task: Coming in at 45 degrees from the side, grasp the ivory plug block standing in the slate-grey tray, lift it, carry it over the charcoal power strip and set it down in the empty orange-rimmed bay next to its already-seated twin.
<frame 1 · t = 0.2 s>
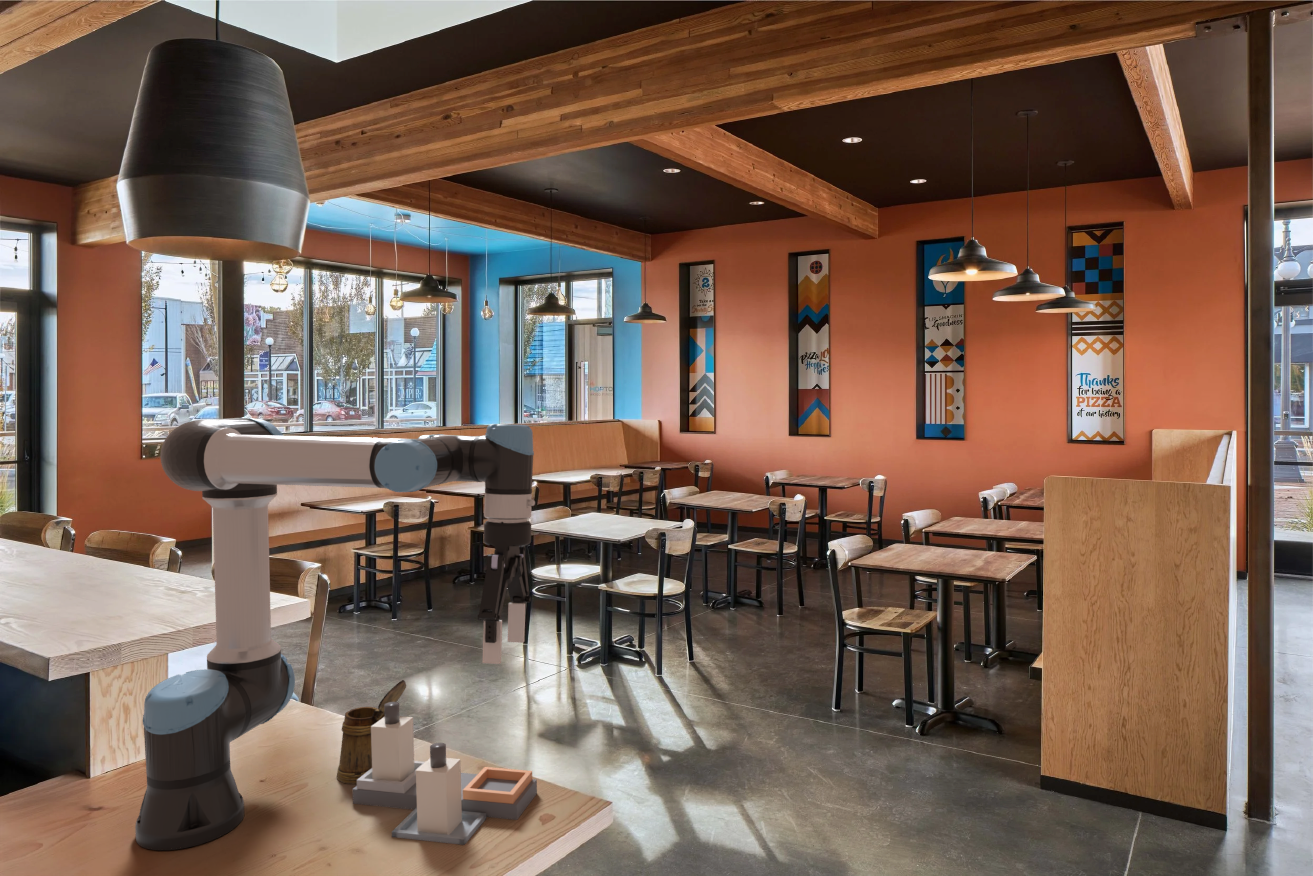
hand: (504, 652, 134), 27 cm above the table, tool pointing down, fingers open, 13 cm apart
twin plug: (393, 779, 141), resting on pdu strip
tray: (440, 831, 130), on the table
wooden mug: (374, 776, 150), on the table
pdu strip: (445, 801, 140), on the table
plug: (440, 827, 130), point 1 cm above the table, touching tray
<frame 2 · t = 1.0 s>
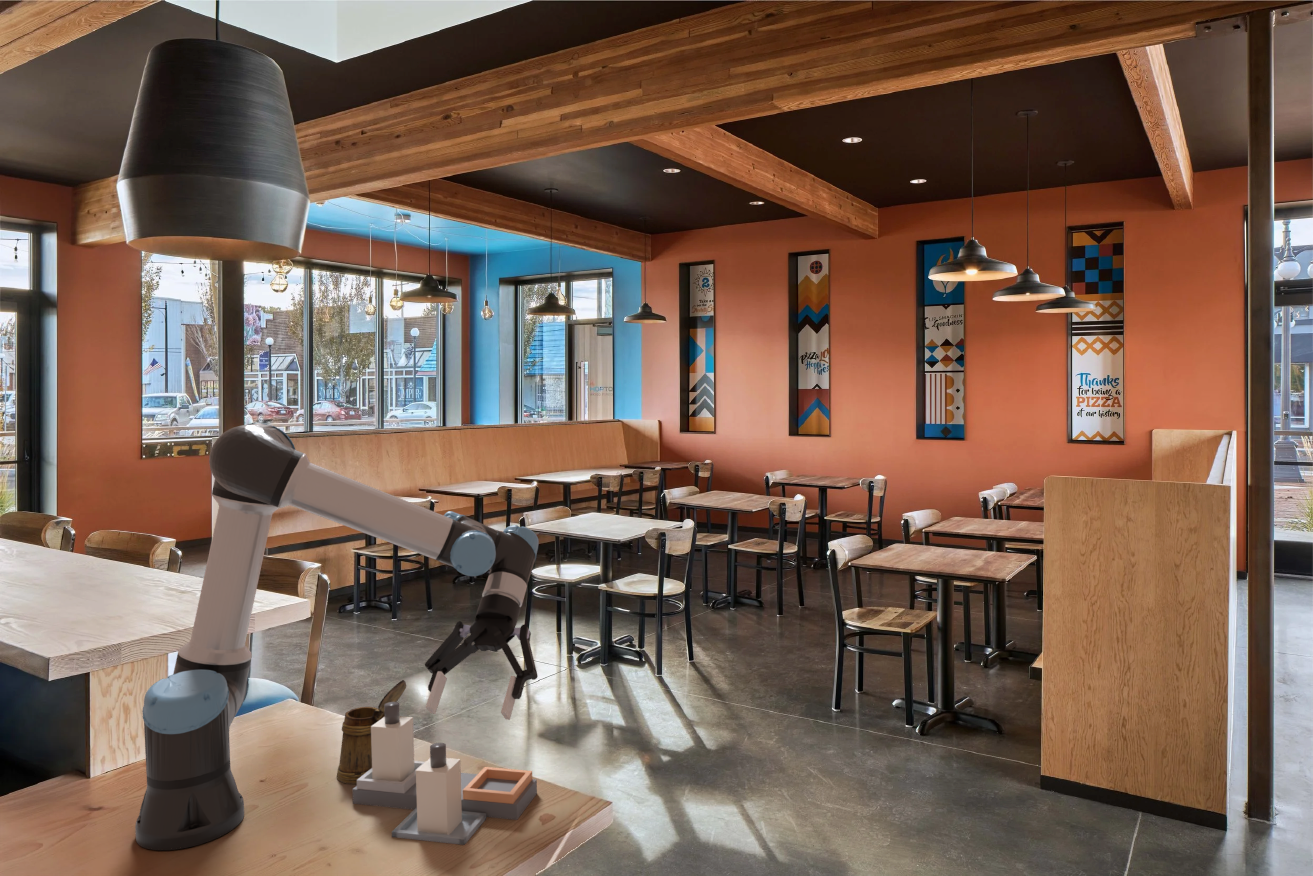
hand: (467, 713, 139), 15 cm above the table, tool tilted 45°, fingers open, 13 cm apart
nothing on the table moved.
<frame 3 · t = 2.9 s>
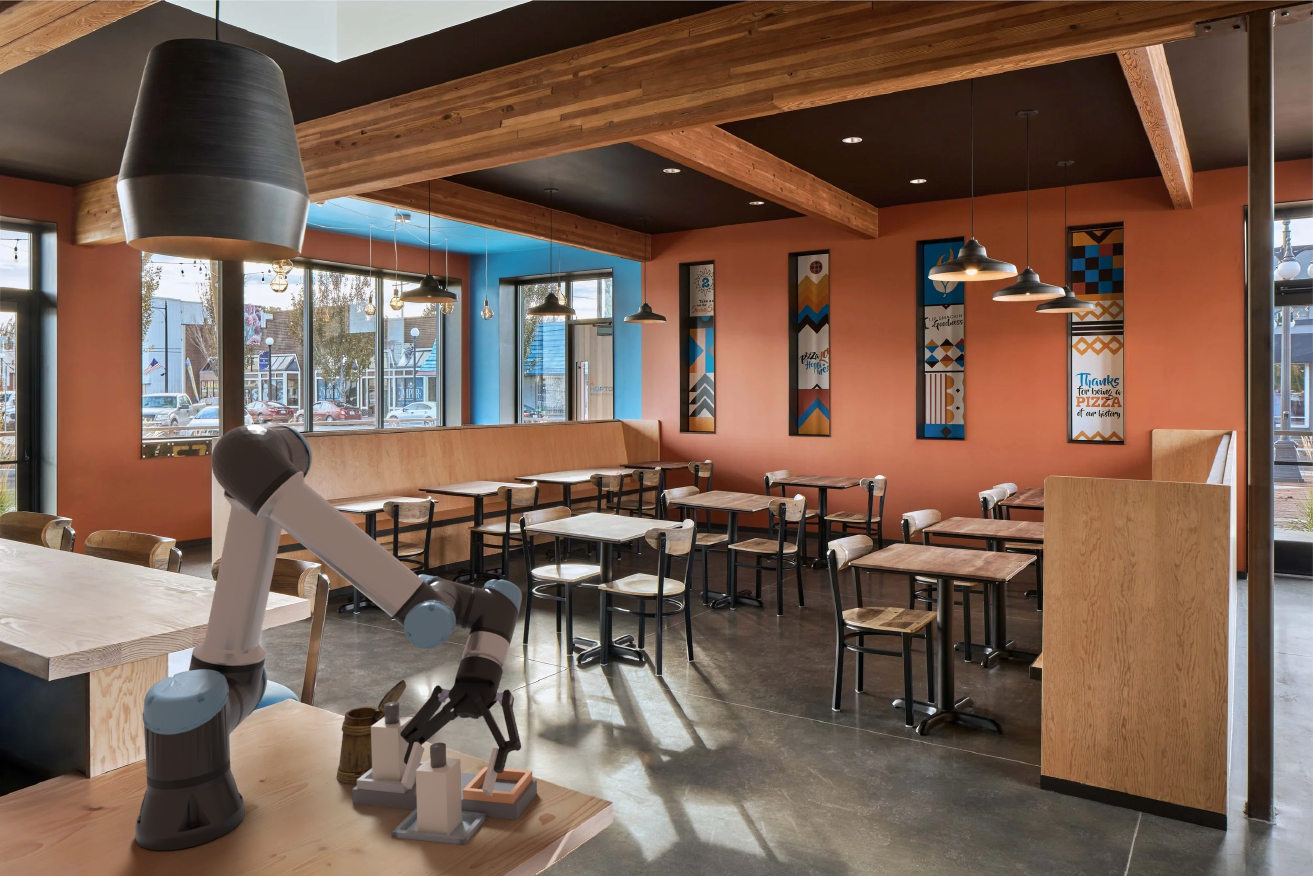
hand: (446, 789, 130), 6 cm above the table, tool tilted 45°, fingers open, 13 cm apart
nothing on the table moved.
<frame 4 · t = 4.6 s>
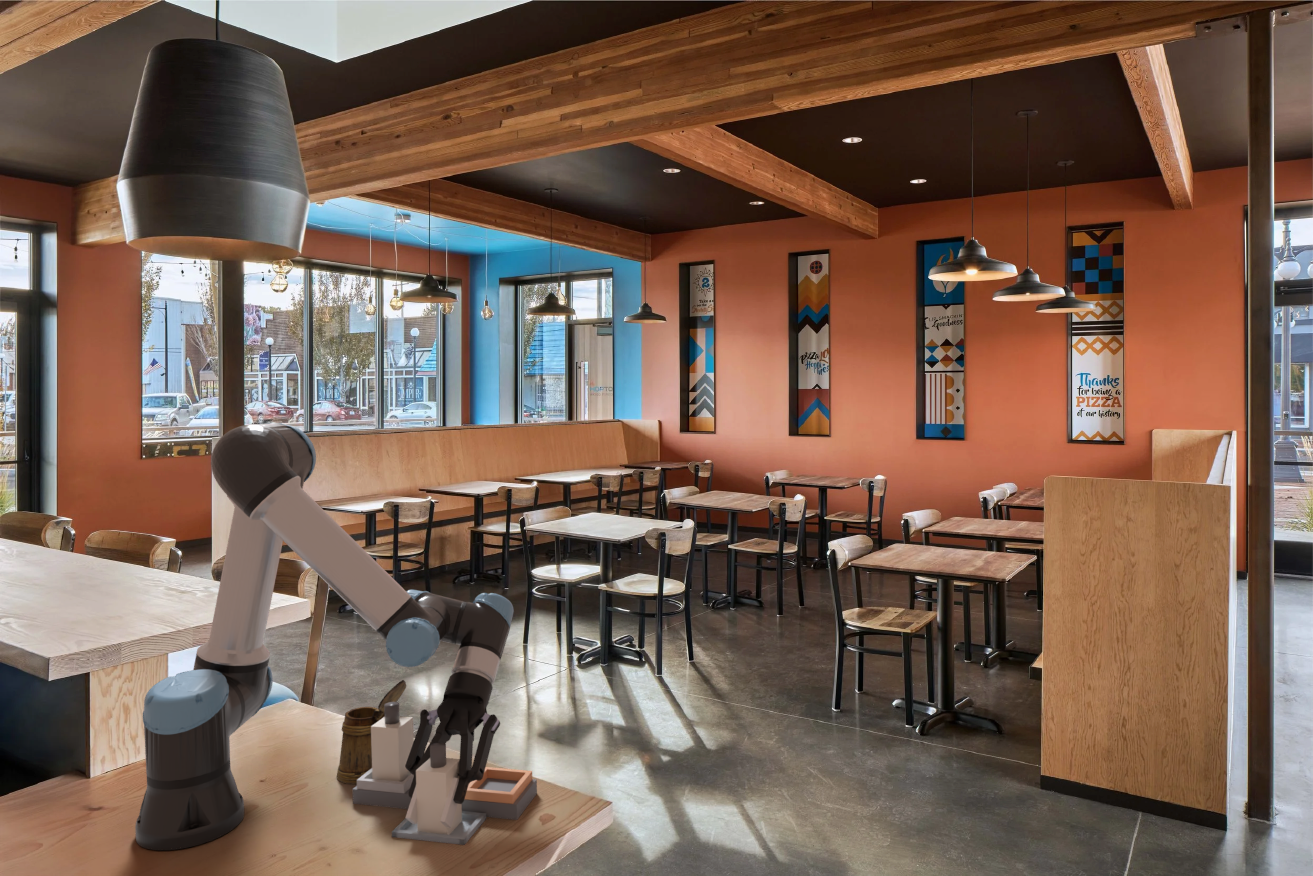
hand: (428, 822, 126), 3 cm above the table, tool tilted 45°, fingers closed on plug, 5 cm apart
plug: (440, 827, 130), point 1 cm above the table, touching gripper, tray
everything else where it was.
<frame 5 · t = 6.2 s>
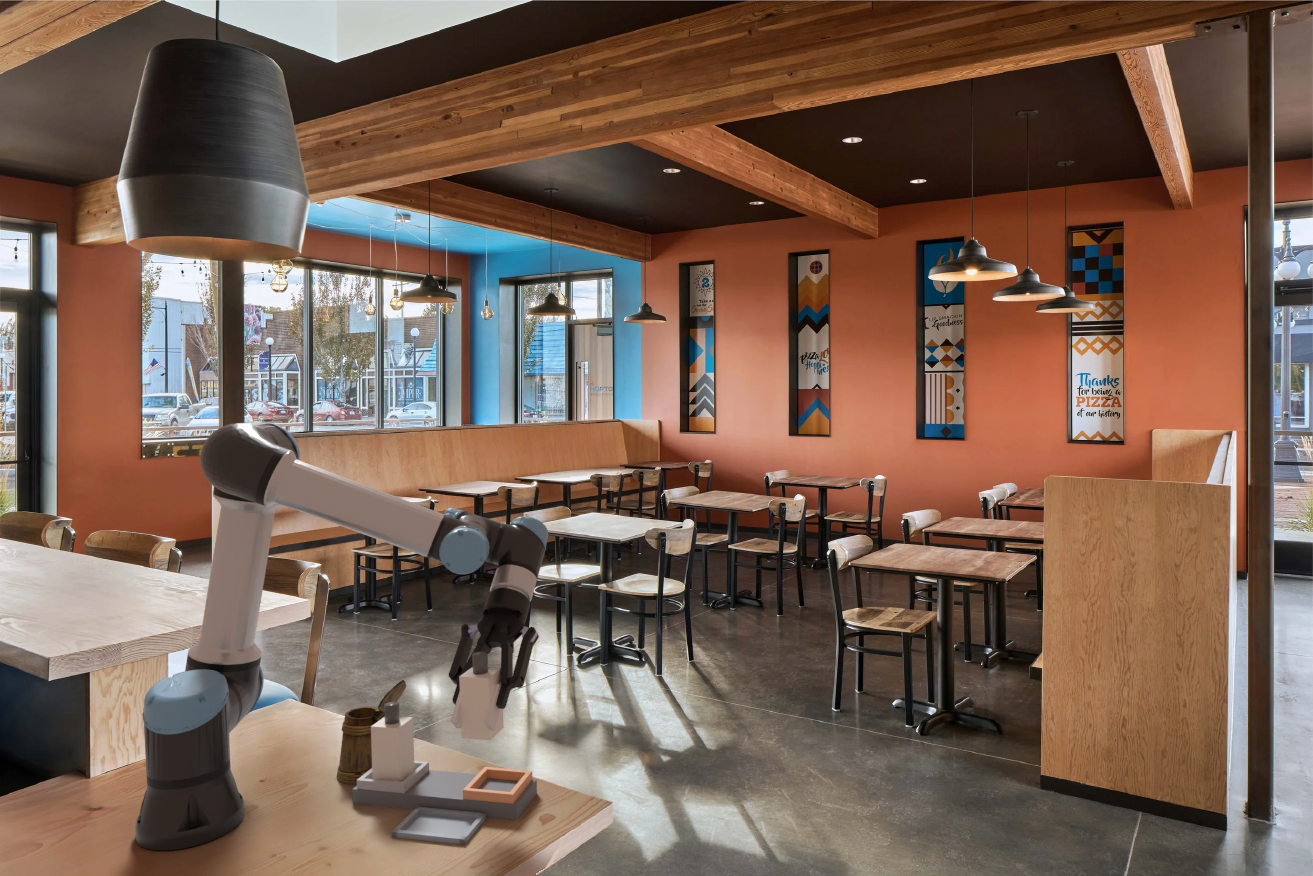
hand: (472, 725, 131), 16 cm above the table, tool tilted 45°, fingers closed on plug, 5 cm apart
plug: (482, 733, 135), point 13 cm above the table, touching gripper
everything else where it was.
when the fingers open (7 cm above the table, at t = 8.2 s): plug drops 1 cm, resting on pdu strip.
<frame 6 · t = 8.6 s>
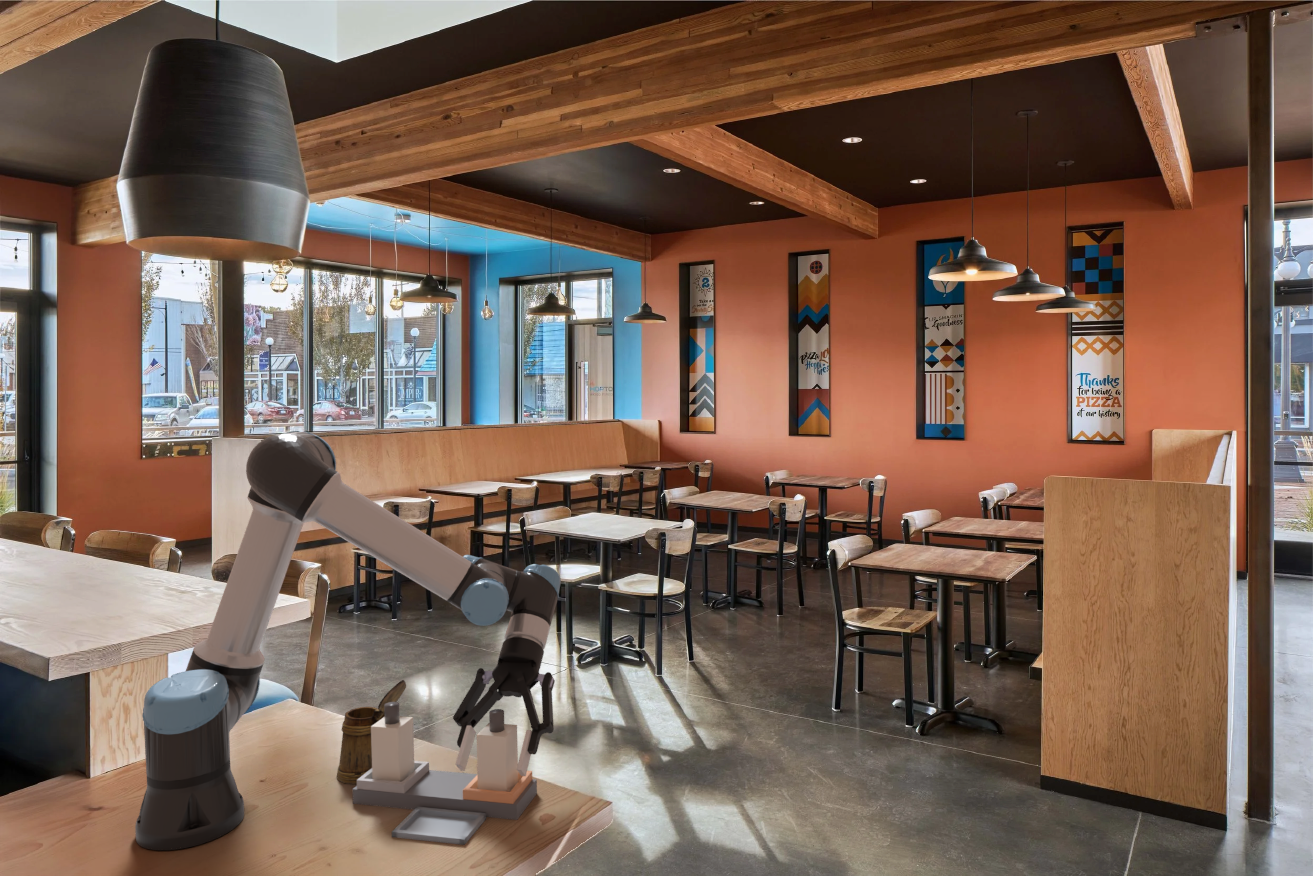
hand: (490, 770, 134), 8 cm above the table, tool tilted 45°, fingers open, 10 cm apart
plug: (498, 789, 137), point 3 cm above the table, touching pdu strip
everything else where it was.
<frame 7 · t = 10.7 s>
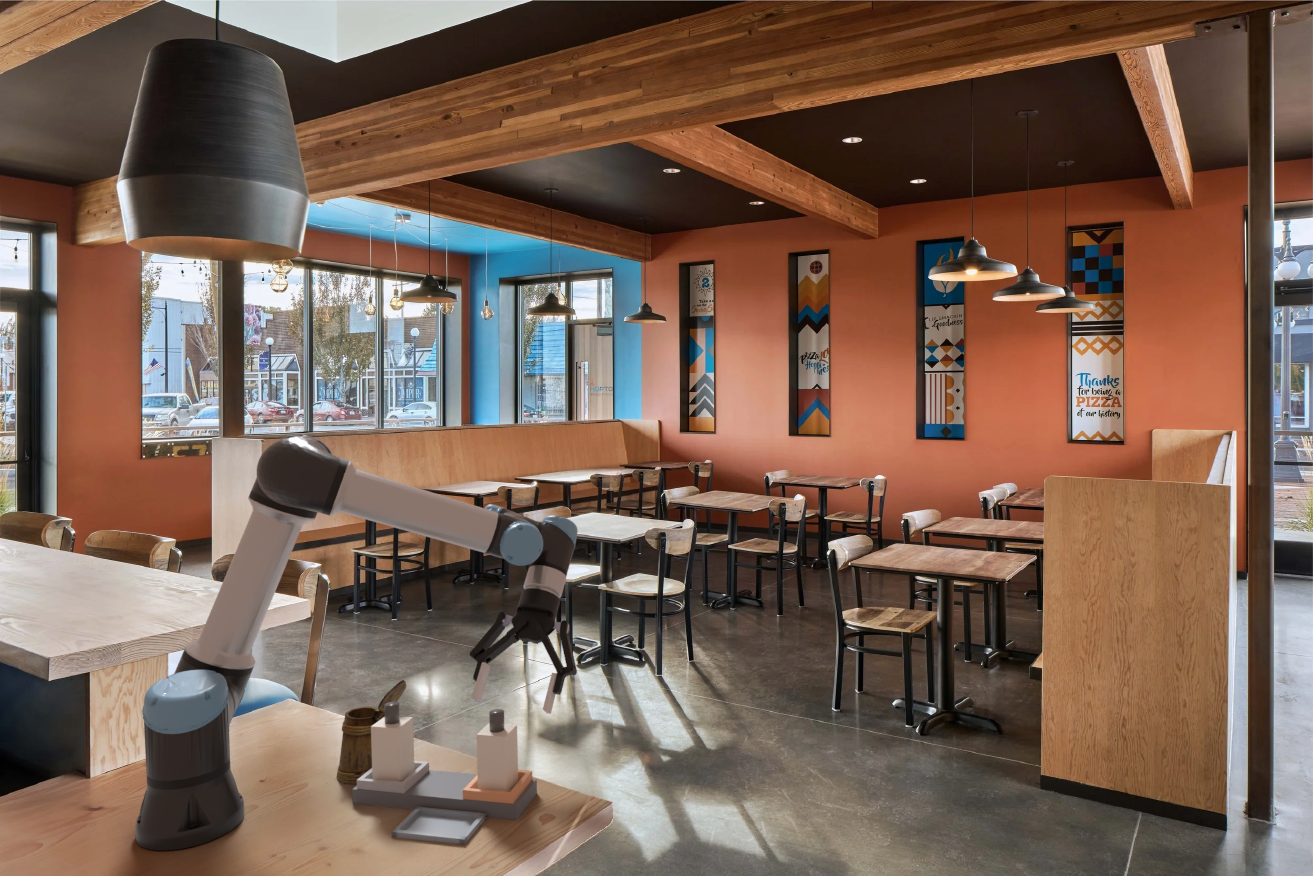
hand: (510, 706, 148), 13 cm above the table, tool tilted 35°, fingers open, 13 cm apart
nothing on the table moved.
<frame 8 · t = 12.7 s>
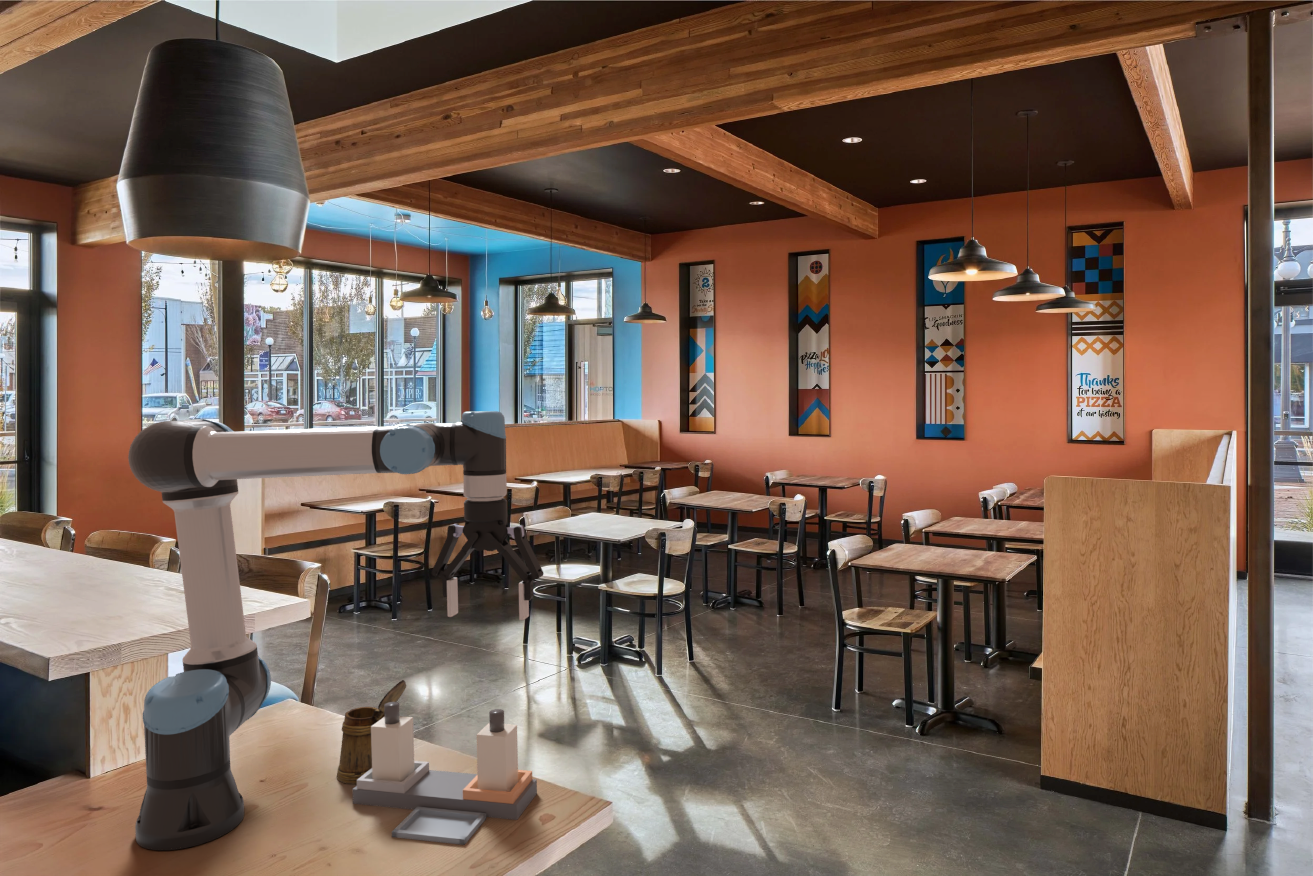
hand: (488, 616, 148), 29 cm above the table, tool pointing down, fingers open, 13 cm apart
nothing on the table moved.
at the end: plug 0.0 cm from the target spot on the pdu strip, point 3.0 cm above the pdu strip's base; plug tilted 0°; the gripper is holding nothing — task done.
